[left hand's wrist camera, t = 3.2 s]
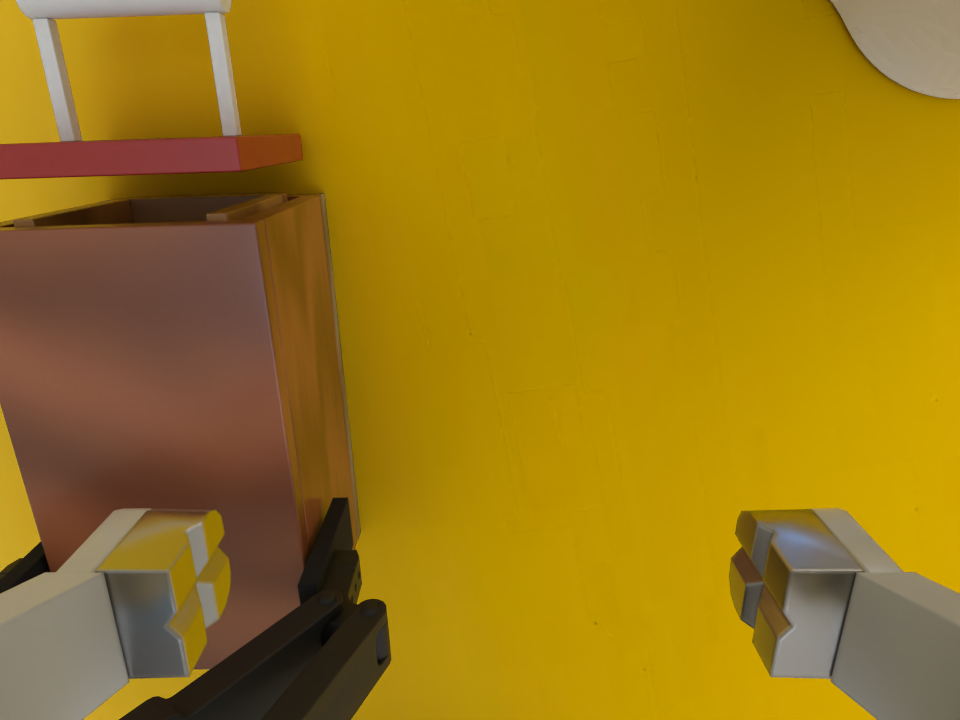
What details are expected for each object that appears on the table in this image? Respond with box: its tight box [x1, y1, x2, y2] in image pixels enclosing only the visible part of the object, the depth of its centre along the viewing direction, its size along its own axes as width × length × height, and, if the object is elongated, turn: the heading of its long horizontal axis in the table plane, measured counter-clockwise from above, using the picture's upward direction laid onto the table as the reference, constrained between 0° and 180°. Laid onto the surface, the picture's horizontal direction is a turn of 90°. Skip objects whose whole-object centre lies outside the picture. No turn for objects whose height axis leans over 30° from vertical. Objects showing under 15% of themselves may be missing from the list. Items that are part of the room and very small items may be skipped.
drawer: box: [0, 0, 303, 227], centre depth 30 cm, size 25×10×9 cm, turn 2°
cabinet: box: [0, 194, 361, 669], centre depth 32 cm, size 20×11×11 cm, turn 2°
